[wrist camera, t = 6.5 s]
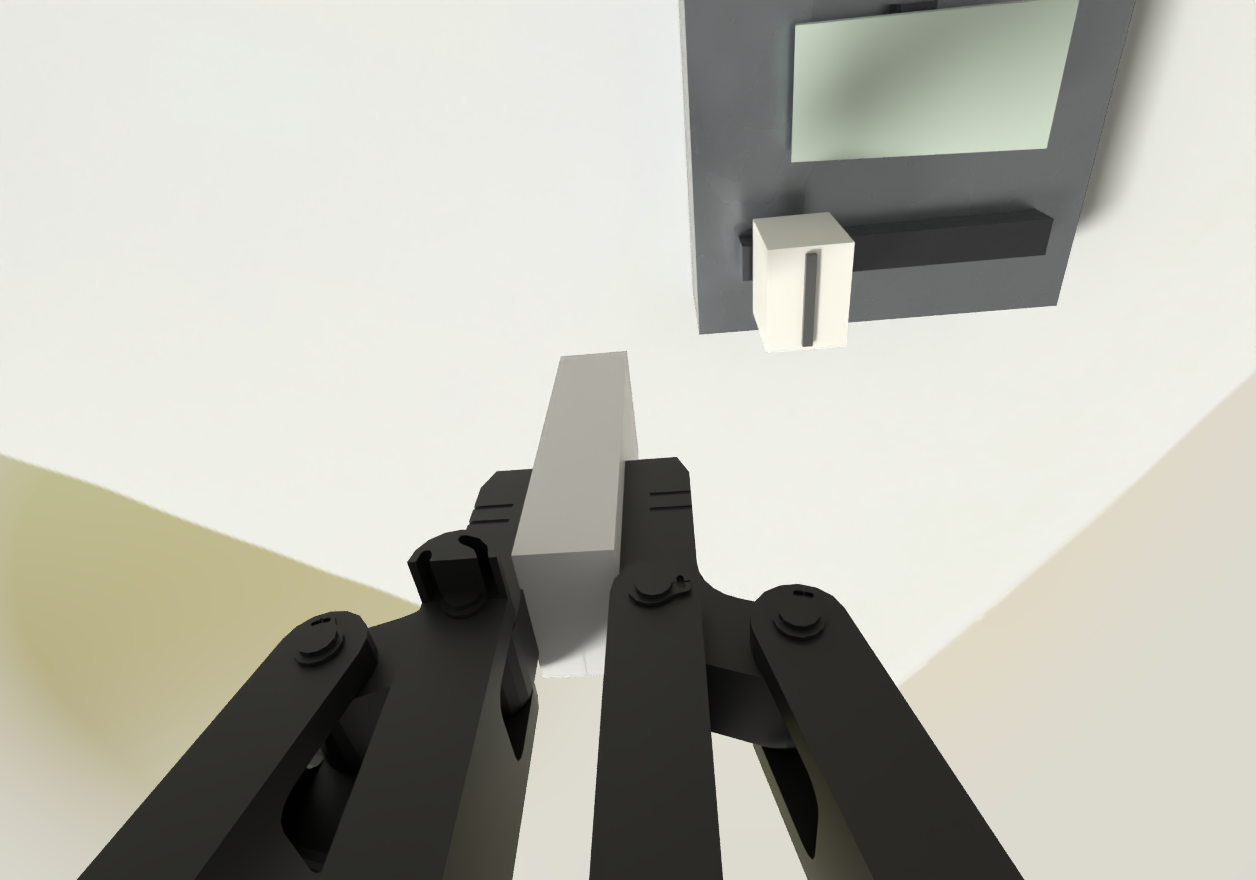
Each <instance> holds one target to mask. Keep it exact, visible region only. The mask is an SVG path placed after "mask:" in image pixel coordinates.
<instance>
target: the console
mask: <svg viewBox="0 0 1256 880" xmlns="http://www.w3.org/2000/svg"><path fill="white" fill-rule="evenodd" d="M1012 1H1021V0H679V13H680V33H681V53H682V73H683V94H684V114H685V134H686V155H687V175H688V195H689V215H690V236H691V256H692V276H693V296H694V302H695V309H696V315H697V322H698V328H699V335H700V334H712V333H725V332H737V331H749V330H759V329H758V326H757V323H756V320H755V317H754V314H753V219H758V218H769V217H779V216H790V215H801V214H811V213H822V212H830V214H831V215H832V216H833V217H834V218H835V220H836V221H837V222H838V223H839V224H840V225H841V227H842V228H843V229H844V230H845V231H846V233H847V234H848V235H849V236H850V237H851V238H852V240H853V241H854V242H855V245H854V257H853V269H852V281H851V293H850V306H849V318H848V322H860V321H872V320H884V319H896V318H909V317H921V316H933V315H946V314H958V313H970V312H982V311H995V310H1007V309H1019V308H1031V307H1044V306H1056V305H1057V301H1058V297H1059V294H1060V290H1061V286H1062V282H1063V278H1064V274H1065V270H1066V267H1067V263H1068V259H1069V255H1070V251H1071V247H1072V243H1073V239H1074V236H1075V232H1076V228H1077V224H1078V220H1079V216H1080V212H1081V208H1082V205H1083V201H1084V197H1085V193H1086V189H1087V185H1088V181H1089V177H1090V174H1091V170H1092V166H1093V162H1094V158H1095V154H1096V150H1097V147H1098V143H1099V139H1100V135H1101V131H1102V127H1103V123H1104V119H1105V116H1106V112H1107V108H1108V104H1109V100H1110V96H1111V92H1112V88H1113V85H1114V81H1115V77H1116V73H1117V69H1118V65H1119V61H1120V58H1121V54H1122V50H1123V46H1124V42H1125V38H1126V34H1127V30H1128V27H1129V23H1130V19H1131V15H1132V11H1133V7H1134V3H1135V0H1079V4H1078V8H1077V13H1076V17H1075V22H1074V26H1073V31H1072V35H1071V40H1070V44H1069V49H1068V53H1067V58H1066V62H1065V67H1064V72H1063V76H1062V81H1061V85H1060V90H1059V94H1058V99H1057V103H1056V108H1055V112H1054V117H1053V121H1052V126H1051V130H1050V135H1049V140H1048V144H1047V148H1045V149H1027V150H1009V151H990V152H972V153H954V154H935V155H917V156H899V157H880V158H862V159H844V160H825V161H807V162H791V154H792V121H793V87H794V53H795V25H796V24H799V23H808V22H818V21H828V20H838V19H847V18H857V17H867V16H876V15H886V14H896V13H905V12H915V11H925V10H934V9H944V8H954V7H963V6H973V5H983V4H992V3H1002V2H1012Z"/></svg>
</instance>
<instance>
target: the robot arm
mask: <svg viewBox="0 0 1256 880" xmlns="http://www.w3.org/2000/svg"><path fill="white" fill-rule="evenodd" d="M474 507H475V510H473V512H472V515H471V518H470V521H469V522H470V524H469V525H468V526H467V529H466V530H458V531H453V532H447V533H444V534H442V535H439V536H437V537H435V538H433V539H430V540H428V541H427V542H426V543H424V544H423V545H422V546H421V547H419V548H418V549H417V550H415V552H414V553H413V555H412V556H411V558H410V559H409V560H408V562H407V563H408V566H409V569H410V571H411V574H412V577H413V579H414V582H415V585H416V587H417V590H418V593H419V595H420V598H421V601H422V605H421V608H420V610H418V611H417V612H415V613H413V614H410V615H408V616H405V617H403V618H400V619H396V620H393V621H390V622H387V623H383V624H380V625H377V626H373V627H370V628H368V627H367V625H366V624H365V623H364V621H363V620H362V618H361V617H360V616H359V615H356V614H353V613H351V612H348V611H338V612H337V611H336V612H328V613H325V614H322V615H318V616H315V617H313V618H311V619H309V620H307V621H306V622H304V623H303V624H301V625H298V626H297V627H296V628H294V629H293V630H292V631H291V632H290V633H289V634H288V635H287V636H286V637H285V638H283V639H282V641H281V642H280V643H279V644H278V645H277V647H276V648H275V649H274V650H273V651H272V652H271V653H270V655H269V656H268V657H267V658H266V659H265V661H264V662H263V663H262V664H261V665H260V667H258V669H257V670H256V671H255V672H254V673H253V675H252V676H251V677H250V678H249V679H248V680H247V682H246V683H245V684H244V685H243V686H242V687H241V688H240V690H239V691H238V692H237V693H236V694H235V695H234V697H233V698H232V699H231V700H230V701H229V702H228V704H227V705H226V706H225V707H224V709H222V711H221V712H220V713H219V714H218V715H217V717H216V718H215V719H214V720H213V721H212V722H211V724H210V725H209V726H208V727H207V728H206V729H205V731H204V732H203V733H202V734H201V735H200V736H199V738H198V739H197V740H196V741H195V742H194V743H193V745H192V746H191V747H190V748H189V749H188V750H187V752H186V753H185V754H184V755H183V756H182V757H181V759H180V760H179V761H178V762H177V763H176V764H175V766H174V767H173V768H172V769H171V770H170V772H169V773H168V774H167V775H166V776H165V777H164V778H163V780H162V781H161V782H160V783H159V784H158V785H157V787H156V788H155V789H154V790H153V791H152V792H151V794H150V795H149V796H148V797H147V798H146V799H145V801H144V802H143V803H142V804H141V805H140V807H139V808H138V809H137V810H136V811H135V812H134V814H133V815H132V816H131V817H130V818H129V819H128V821H127V822H126V823H125V824H124V825H123V827H122V828H121V829H120V830H119V831H118V832H117V833H116V835H115V836H114V837H113V838H112V839H111V840H110V842H109V843H108V844H107V845H106V846H105V847H104V849H103V850H102V851H101V852H100V853H99V855H98V856H97V857H96V858H95V859H94V860H93V861H92V863H91V864H90V865H89V866H88V867H87V868H86V870H85V871H84V872H83V873H82V874H81V875H80V877H79V878H78V879H77V880H512V877H513V871H514V864H515V858H516V852H517V845H518V839H519V832H520V825H521V819H522V812H523V806H524V799H525V793H526V787H527V780H528V774H529V767H530V761H531V754H532V748H533V741H534V735H535V728H536V722H537V715H538V709H539V708H538V695H537V691H536V688H535V684H534V679H535V674H536V667H537V662H538V660H539V664H540V668H541V671H542V675H543V678H554V677H575V676H595V675H596V676H598V675H604V679H603V680H604V681H603V694H602V708H601V722H600V736H599V750H598V764H597V777H596V791H595V805H594V820H593V833H592V847H591V861H590V877H589V880H723V873H722V862H721V850H720V836H719V824H718V813H717V800H716V787H715V775H714V763H713V750H712V738H711V732H714V733H718V734H722V735H725V736H729V737H732V738H736V739H739V740H743V741H746V742H750V743H753V746H754V749H755V751H756V754H757V756H758V759H759V761H760V763H761V766H762V769H763V771H764V774H765V776H766V778H767V781H768V783H769V786H770V788H771V791H772V793H773V796H774V798H775V801H776V803H777V805H778V808H779V810H780V813H781V815H782V818H783V820H784V823H785V825H786V828H787V830H788V832H789V835H790V837H791V840H792V842H793V845H794V847H795V850H796V852H797V854H798V857H799V859H800V862H801V864H802V866H803V869H804V872H805V874H806V876H807V879H808V880H1024V879H1023V877H1022V876H1021V874H1020V873H1019V871H1018V869H1017V868H1016V866H1015V865H1014V863H1013V862H1012V860H1011V859H1010V857H1009V856H1008V854H1007V853H1006V852H1005V850H1004V848H1003V847H1002V845H1001V844H1000V842H999V841H998V839H997V838H996V836H995V835H994V833H993V832H992V830H991V829H990V827H989V826H988V824H987V823H986V821H985V820H984V818H983V817H982V815H981V814H980V812H979V811H978V809H977V807H976V806H975V804H974V803H973V801H972V800H971V798H970V797H969V795H968V794H967V792H966V791H965V789H964V788H963V786H962V785H961V783H960V782H959V780H958V779H957V777H956V776H955V774H954V773H953V771H952V770H951V768H950V767H949V765H948V764H947V762H946V761H945V759H944V758H943V756H942V755H941V753H940V752H939V750H938V749H937V747H936V746H935V744H934V742H933V741H932V739H931V738H930V737H929V735H928V733H927V732H926V730H925V729H924V727H923V726H922V725H921V723H920V721H919V720H918V718H917V717H916V715H915V714H914V712H913V711H912V709H911V708H910V706H909V705H908V703H907V702H906V700H905V699H904V697H903V696H902V694H901V693H900V691H899V690H898V688H897V687H896V685H895V684H894V682H893V681H892V679H891V677H890V676H889V674H888V673H887V671H886V670H885V668H884V667H883V665H882V664H881V662H880V661H879V659H878V658H877V656H876V655H875V653H874V652H873V650H872V649H871V647H870V646H869V644H868V643H867V641H866V640H865V638H864V637H863V635H862V634H861V632H860V631H859V629H858V628H857V626H856V625H855V623H854V622H853V620H852V619H851V617H850V616H849V614H848V612H847V611H846V609H845V608H844V607H843V606H842V605H841V604H840V603H839V602H838V601H837V600H836V599H835V598H834V597H833V596H832V595H830V594H828V593H826V592H824V591H822V590H820V589H818V588H816V587H811V586H806V585H800V584H792V585H780V586H778V587H775V588H773V589H770V590H768V591H766V592H764V593H763V594H762V595H761V596H760V597H759V598H758V599H757V600H756V601H755V602H754V601H749V600H744V599H740V598H736V597H732V596H729V595H726V594H723V593H722V592H720V591H718V590H716V589H714V588H713V587H712V586H710V585H709V584H708V583H707V582H706V581H705V580H704V579H703V577H702V576H701V574H700V572H699V570H698V566H697V560H696V549H695V537H694V525H693V513H692V501H691V489H690V477H689V471H688V470H687V469H686V468H685V467H684V465H683V464H682V463H681V462H680V460H679V459H678V458H677V457H671V458H657V459H642V460H638V445H637V436H636V427H635V419H634V410H633V401H632V392H631V384H630V375H629V366H628V357H627V351H622V352H610V353H598V354H586V355H574V356H562V357H561V358H560V362H559V366H558V370H557V374H556V378H555V382H554V386H553V390H552V394H551V398H550V402H549V406H548V410H547V414H546V418H545V422H544V426H543V430H542V434H541V438H540V442H539V446H538V450H537V454H536V458H535V462H534V466H533V469H525V470H510V471H497V472H496V473H495V474H494V475H493V476H492V477H491V478H490V479H489V480H488V481H487V482H486V483H485V484H484V485H483V486H482V487H481V489H480V492H479V495H478V498H477V500H476V503H475V506H474Z"/></svg>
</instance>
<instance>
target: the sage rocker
mask: <svg viewBox="0 0 1256 880" xmlns="http://www.w3.org/2000/svg"><path fill="white" fill-rule="evenodd" d="M1078 4H1079V0H1021V1H1012V2H1002V3H992V4H983V5H973V6H963V7H954V8H944V9H934V10H925V11H915V12H905V13H896V14H886V15H876V16H867V17H857V18H847V19H838V20H828V21H818V22H808V23H799V24H796V25H795V53H794V87H793V121H792V154H791V162H807V161H825V160H844V159H862V158H880V157H899V156H917V155H935V154H954V153H972V152H990V151H1009V150H1027V149H1045V148H1047V144H1048V140H1049V135H1050V130H1051V126H1052V121H1053V117H1054V112H1055V108H1056V103H1057V99H1058V94H1059V90H1060V85H1061V81H1062V76H1063V72H1064V67H1065V62H1066V58H1067V53H1068V49H1069V44H1070V40H1071V35H1072V31H1073V26H1074V22H1075V17H1076V13H1077V8H1078Z"/></svg>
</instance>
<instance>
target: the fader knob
mask: <svg viewBox="0 0 1256 880" xmlns="http://www.w3.org/2000/svg"><path fill="white" fill-rule="evenodd" d="M854 245H855V242H854V241H853V240H852V238H851V237H850V236H849V235H848V234H847V233H846V231H845V230H844V229H843V228H842V227H841V225H840V224H839V223H838V222H837V221H836V220H835V218H834V217H833V216H832V215H831V214H830V212H822V213H811V214H801V215H790V216H779V217H769V218H758V219H753V314H754V317H755V320H756V323H757V326H758V329H759V332H760V335H761V338H762V341H763V344H764V347H765V350H766V353H772V352H784V351H797V350H810V349H823V348H835V347H846V342H847V330H848V318H849V306H850V293H851V281H852V269H853V257H854Z"/></svg>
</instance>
